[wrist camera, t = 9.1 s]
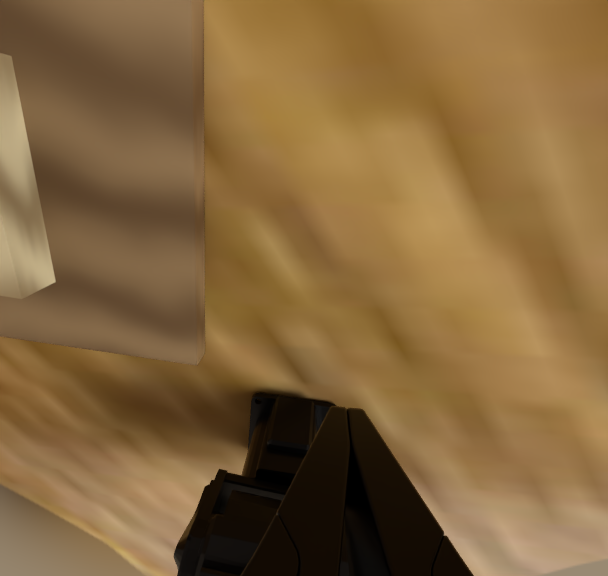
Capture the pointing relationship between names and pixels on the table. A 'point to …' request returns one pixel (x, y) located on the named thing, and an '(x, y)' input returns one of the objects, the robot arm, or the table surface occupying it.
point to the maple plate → (19, 200)
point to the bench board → (114, 172)
